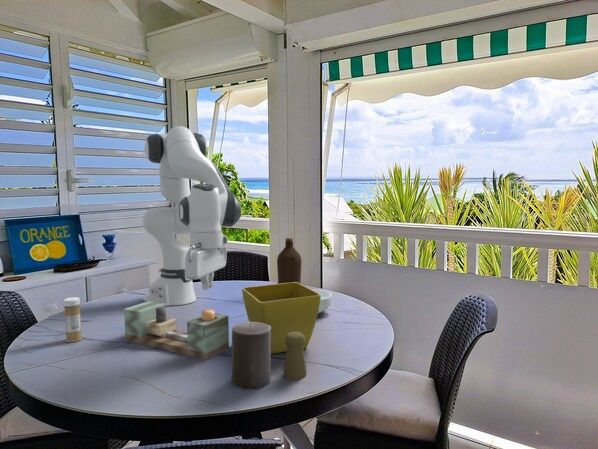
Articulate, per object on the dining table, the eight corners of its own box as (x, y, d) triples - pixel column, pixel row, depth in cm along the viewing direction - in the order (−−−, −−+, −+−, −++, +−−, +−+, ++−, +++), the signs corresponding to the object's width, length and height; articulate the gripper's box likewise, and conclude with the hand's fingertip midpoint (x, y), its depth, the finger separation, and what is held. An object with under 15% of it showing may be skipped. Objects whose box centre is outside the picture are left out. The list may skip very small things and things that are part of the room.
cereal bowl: (337, 309, 171) (338, 291, 170) (321, 321, 156) (321, 302, 155) (298, 304, 178) (298, 287, 177) (279, 315, 163) (279, 297, 162)
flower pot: (241, 338, 139) (241, 286, 138) (296, 330, 147) (296, 281, 145) (260, 361, 122) (260, 302, 120) (322, 350, 129) (322, 295, 128)
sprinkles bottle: (82, 336, 141) (79, 295, 140) (81, 341, 137) (79, 299, 136) (65, 339, 139) (63, 297, 138) (65, 343, 135) (62, 301, 134)
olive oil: (306, 294, 192) (306, 237, 189) (291, 299, 184) (290, 240, 181) (288, 290, 199) (287, 235, 196) (272, 295, 190) (271, 238, 188)
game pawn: (282, 369, 117) (282, 329, 115) (305, 368, 117) (305, 328, 116) (284, 380, 111) (283, 337, 109) (307, 379, 111) (307, 337, 110)
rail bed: (125, 339, 138) (124, 308, 137) (150, 330, 147) (148, 301, 146) (206, 360, 123) (206, 325, 122) (228, 348, 131) (228, 315, 130)
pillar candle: (238, 392, 104) (238, 331, 103) (227, 375, 113) (227, 318, 112) (276, 385, 108) (276, 326, 107) (263, 369, 117) (263, 314, 115)
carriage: (146, 335, 136) (145, 310, 135) (162, 328, 142) (162, 304, 141) (160, 338, 133) (159, 312, 132) (176, 331, 139) (176, 306, 138)
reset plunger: (199, 325, 127) (198, 312, 127) (207, 321, 130) (207, 308, 130) (209, 327, 125) (208, 313, 125) (217, 323, 129) (216, 310, 128)
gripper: (199, 246, 114) (201, 298, 116) (230, 237, 134) (231, 281, 136) (177, 245, 116) (179, 297, 117) (211, 236, 136) (212, 280, 137)
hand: (207, 288), depth 127 cm, fingers closed
